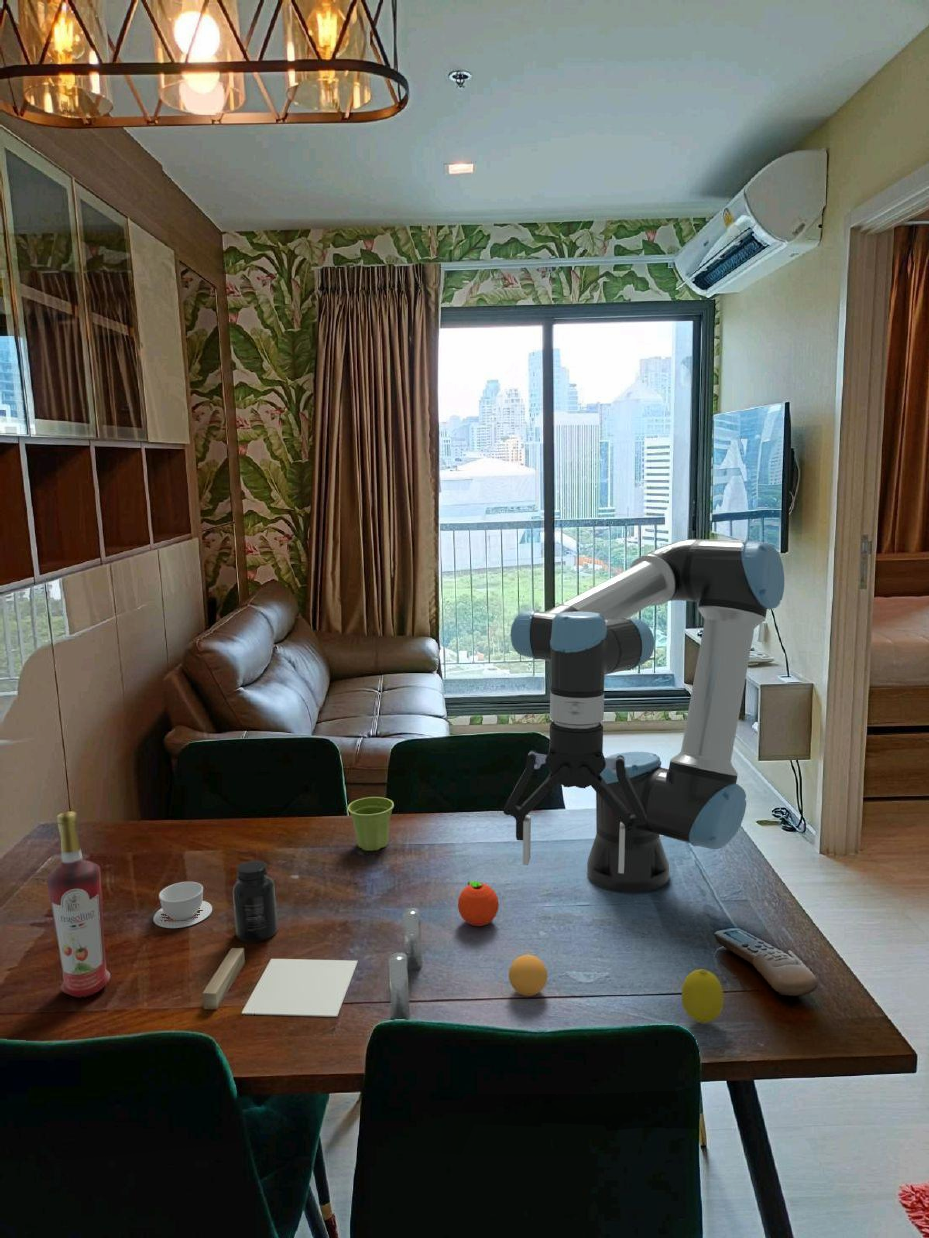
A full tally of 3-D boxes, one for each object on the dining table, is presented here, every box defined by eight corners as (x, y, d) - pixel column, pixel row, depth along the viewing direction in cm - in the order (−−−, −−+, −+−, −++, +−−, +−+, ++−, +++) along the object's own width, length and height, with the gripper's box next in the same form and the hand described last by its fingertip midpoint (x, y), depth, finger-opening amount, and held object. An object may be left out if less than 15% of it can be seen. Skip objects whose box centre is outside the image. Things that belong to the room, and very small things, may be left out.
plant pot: (393, 854, 176) (391, 813, 174) (346, 855, 176) (344, 814, 174) (397, 835, 185) (395, 796, 183) (353, 836, 185) (351, 797, 184)
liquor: (59, 1008, 128) (38, 828, 123) (60, 982, 134) (40, 810, 130) (113, 995, 131) (94, 819, 126) (111, 970, 137) (93, 802, 132)
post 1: (410, 1010, 125) (408, 952, 123) (408, 1021, 122) (405, 963, 121) (392, 1009, 125) (390, 952, 123) (389, 1021, 122) (386, 962, 121)
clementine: (449, 915, 151) (448, 877, 150) (486, 906, 154) (485, 869, 152) (468, 937, 144) (467, 897, 142) (506, 927, 146) (505, 888, 145)
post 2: (423, 960, 137) (420, 907, 136) (420, 970, 135) (418, 916, 133) (406, 960, 137) (404, 907, 136) (404, 969, 135) (401, 916, 133)
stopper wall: (245, 962, 138) (243, 948, 138) (217, 1008, 126) (215, 993, 126) (232, 962, 138) (231, 947, 138) (203, 1008, 127) (202, 992, 126)
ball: (547, 981, 131) (546, 947, 130) (547, 1004, 125) (546, 968, 124) (510, 980, 131) (509, 946, 130) (508, 1003, 126) (507, 967, 125)
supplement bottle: (285, 925, 149) (280, 860, 147) (263, 946, 143) (258, 878, 141) (250, 920, 151) (245, 855, 149) (228, 940, 145) (222, 873, 143)
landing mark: (357, 961, 138) (357, 960, 138) (337, 1016, 124) (337, 1015, 124) (271, 959, 139) (271, 958, 139) (241, 1013, 125) (241, 1012, 125)
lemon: (675, 1012, 123) (676, 960, 121) (714, 1009, 123) (715, 957, 122) (689, 1037, 117) (690, 983, 116) (729, 1034, 118) (730, 979, 116)
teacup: (224, 907, 156) (222, 883, 156) (185, 935, 148) (182, 909, 147) (181, 897, 161) (179, 874, 160) (140, 923, 152) (138, 899, 151)
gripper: (484, 723, 122) (483, 868, 125) (667, 733, 117) (662, 884, 120) (493, 711, 129) (492, 847, 132) (666, 720, 124) (661, 862, 127)
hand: (573, 865), depth 126 cm, fingers open, 13 cm apart
